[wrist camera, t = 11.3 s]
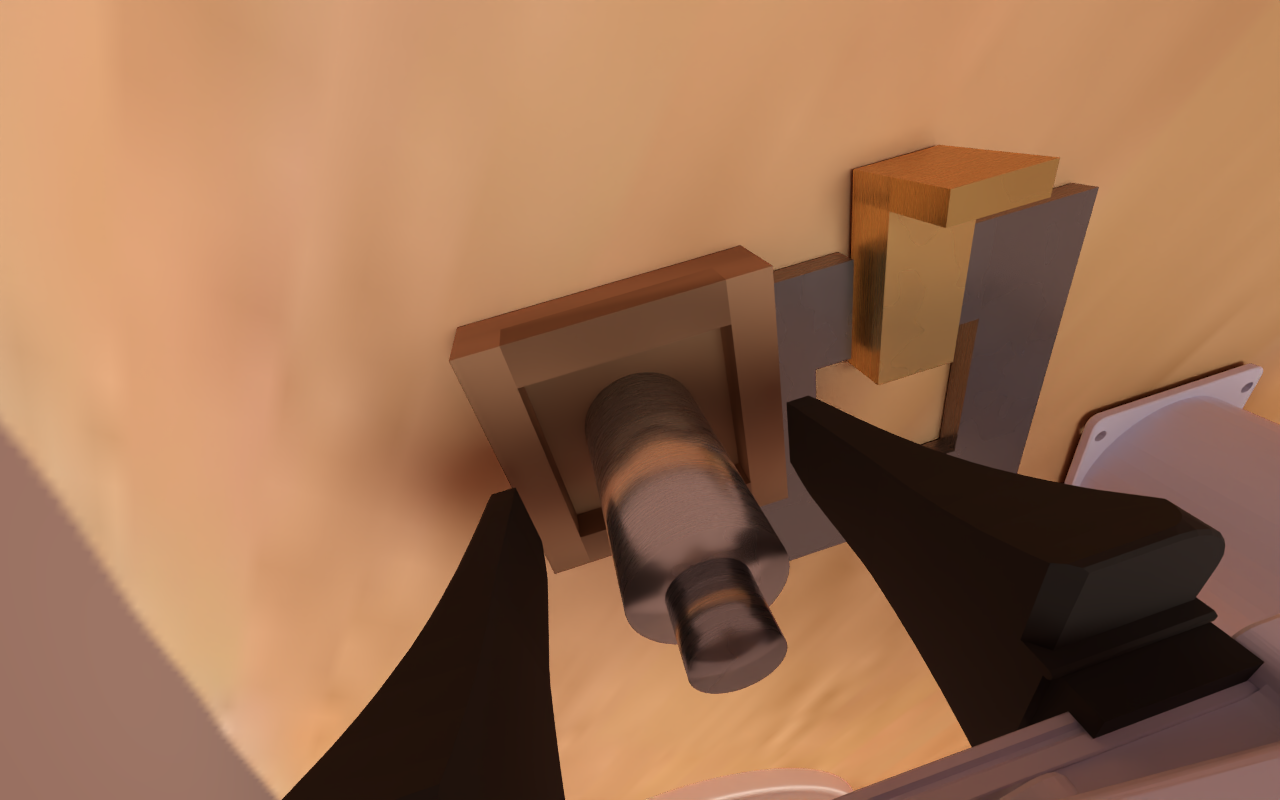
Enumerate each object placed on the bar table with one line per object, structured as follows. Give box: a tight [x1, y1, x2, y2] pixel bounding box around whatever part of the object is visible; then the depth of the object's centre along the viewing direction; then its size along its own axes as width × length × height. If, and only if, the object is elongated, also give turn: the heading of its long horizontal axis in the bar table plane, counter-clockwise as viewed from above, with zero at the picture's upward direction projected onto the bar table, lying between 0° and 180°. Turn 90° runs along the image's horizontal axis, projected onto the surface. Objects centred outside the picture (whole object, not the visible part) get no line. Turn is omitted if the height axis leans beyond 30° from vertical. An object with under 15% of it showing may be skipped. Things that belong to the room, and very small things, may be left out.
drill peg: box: [585, 372, 790, 694], centre depth 12 cm, size 3×3×8 cm
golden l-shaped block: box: [849, 145, 1060, 385], centre depth 13 cm, size 6×2×4 cm, turn 13°
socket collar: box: [760, 183, 1099, 561], centre depth 17 cm, size 12×12×1 cm
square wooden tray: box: [449, 246, 788, 574], centre depth 15 cm, size 8×8×2 cm
